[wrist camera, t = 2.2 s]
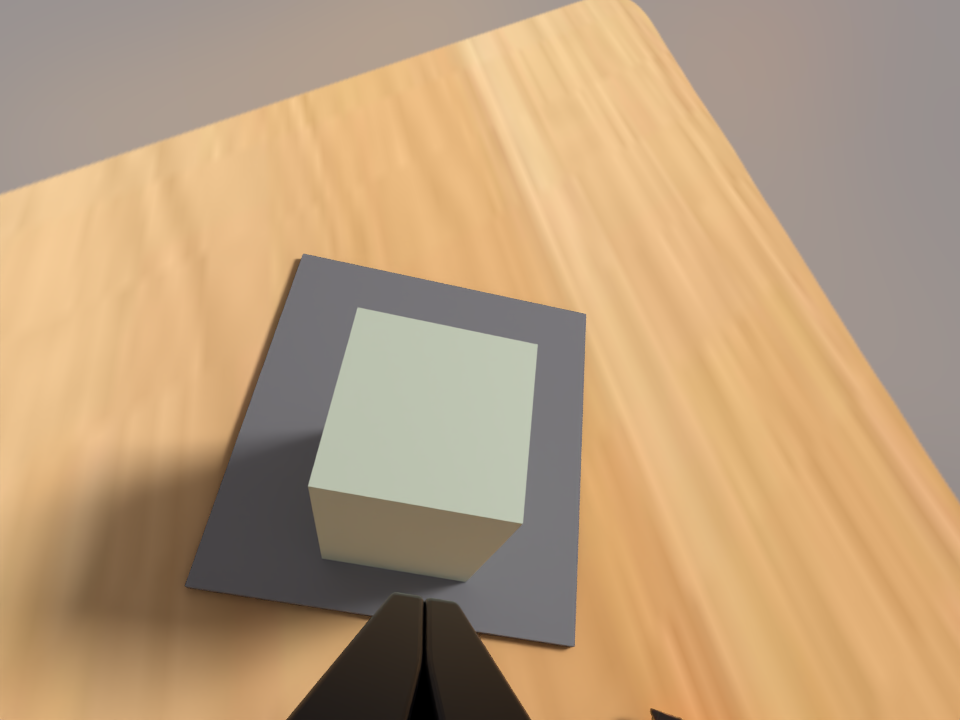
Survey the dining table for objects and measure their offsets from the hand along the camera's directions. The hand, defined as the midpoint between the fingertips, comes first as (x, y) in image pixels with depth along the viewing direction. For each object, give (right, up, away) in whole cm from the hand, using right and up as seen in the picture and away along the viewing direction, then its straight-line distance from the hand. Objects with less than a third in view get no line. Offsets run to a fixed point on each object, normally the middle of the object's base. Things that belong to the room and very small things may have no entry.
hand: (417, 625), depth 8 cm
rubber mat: (-2, +1, +16) cm, 16 cm away
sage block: (-2, -2, +14) cm, 14 cm away
